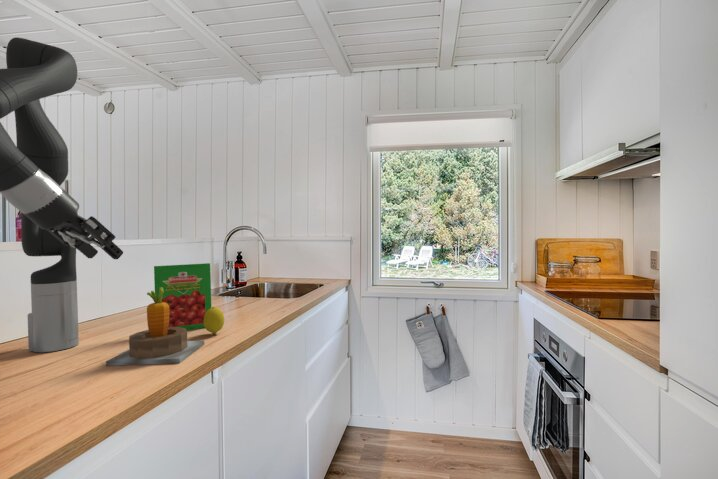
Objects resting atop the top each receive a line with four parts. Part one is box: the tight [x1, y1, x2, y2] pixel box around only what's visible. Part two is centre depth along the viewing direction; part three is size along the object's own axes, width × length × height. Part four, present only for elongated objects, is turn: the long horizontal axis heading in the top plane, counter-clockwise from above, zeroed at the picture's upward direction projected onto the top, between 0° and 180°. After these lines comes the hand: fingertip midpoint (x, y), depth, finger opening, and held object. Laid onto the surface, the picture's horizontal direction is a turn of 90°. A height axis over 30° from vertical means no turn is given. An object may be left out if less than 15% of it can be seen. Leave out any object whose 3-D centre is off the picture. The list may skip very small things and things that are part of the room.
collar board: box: [105, 327, 205, 367], centre depth 87 cm, size 16×14×5 cm
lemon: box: [204, 306, 225, 335], centre depth 104 cm, size 6×6×8 cm
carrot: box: [146, 287, 169, 338], centre depth 87 cm, size 5×5×15 cm
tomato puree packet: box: [153, 262, 212, 331], centre depth 109 cm, size 15×1×20 cm, turn 118°
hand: (106, 255), depth 78 cm, fingers open, 8 cm apart
